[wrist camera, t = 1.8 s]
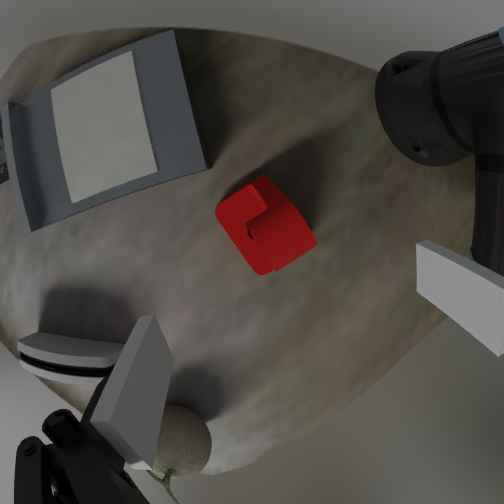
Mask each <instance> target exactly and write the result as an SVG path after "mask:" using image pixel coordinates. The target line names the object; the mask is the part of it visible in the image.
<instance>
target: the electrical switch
mask: <svg viewBox="0 0 504 504" xmlns="http://www.w3.org/2000/svg"><path fill="white" fill-rule="evenodd" d="M6 168H7V171H6ZM1 171H4V172H2V173H1ZM9 179H10V178H9V172H8V167H7V161H6V154H5V147H4V139H3V138H0V184H2V183H4V182H5V181H7V180H9Z"/></svg>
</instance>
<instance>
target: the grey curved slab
mask: <svg viewBox="0 0 504 504" xmlns="http://www.w3.org/2000/svg"><path fill="white" fill-rule="evenodd" d="M124 346H125V344H122V343H113V342H104V341H96V340H88V339H81V338H74V337H67V336H61V335H55V334H49V333H44V332H35V333H33V334H31V335H29V336H26V337H24V338H22V339H19V340H18V350H19V351H20V353H21V355H20V358H19V360H20V363H21V365H22V367H23V368H24V369H26V370H27V371H29V372H31V373H33V374H35V375H38V376H40V377H43V378H46V379H50V380H53V381H58V382H62V383H68V384H75V385H83V386H97V385H98V384H99V383H100V382H101V380H102V379H103V378H104V377H105V376H110V375H111V373H112V371H113V369H114V367H115V364H116V362H117V360H118V358H119V356H120V354H121V352H122V350H123V348H124Z"/></svg>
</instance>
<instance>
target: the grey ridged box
mask: <svg viewBox="0 0 504 504" xmlns="http://www.w3.org/2000/svg"><path fill="white" fill-rule="evenodd" d="M1 117H2V129H3V139H4V147H5V154H6V161H7V167H8V172H9V178H10V183H11V188H12V192H13V197H14V201H15V205H16V209H17V213H18V216H19V220H20V224H21V227H22V230H23V234H24V235H26V234H29V233H31V232H33V231H36V230H38V229H41V228H43V227H45V226H48V225H50V224H53V223H55V222H58V221H60V220H63V219H65V218H68V217H70V216H73V215H75V214H78V213H80V212H83V211H85V210H88V209H90V208H93V207H95V206H98V205H101V204H103V203H106V202H109V201H111V200H114V199H117V198H120V197H122V196H125V195H128V194H131V193H134V192H137V191H140V190H143V189H146V188H149V187H152V186H155V185H158V184H161V183H164V182H168V181H171V180H174V179H178V178H181V177H184V176H188V175H191V174H195V173H198V172H202V171H205V170H209V169H211V166H210V163H209V159H208V155H207V151H206V147H205V143H204V139H203V135H202V131H201V127H200V123H199V119H198V115H197V111H196V107H195V103H194V99H193V95H192V90H191V86H190V82H189V78H188V74H187V70H186V65H185V61H184V57H183V53H182V50H181V48H180V45H179V43H178V40H177V38H176V35H175V33H174V31H173V29H172V30H169V31H166V32H163V33H159V34H156V35H153V36H150V37H148V38H145V39H142V40H139V41H137V42H134V43H131V44H129V45H126V46H124V47H121V48H119V49H117V50H114V51H112V52H110V53H107V54H105V55H103V56H101V57H99V58H96V59H94V60H92V61H90V62H88V63H86V64H84V65H82V66H80V67H78V68H76V69H75V70H73V71H71V72H69V73H67V74H65V75H64V76H62V77H60V78H58V79H57V80H55V81H53V82H52V83H50V84H48V85H47V86H45V87H44V88H42V89H40V90H39V91H37V92H36V93H34V94H33V95H31V96H30V97H28V98H27V99H25V100H24V101H23V102H21V103H20V104H17V103H12V102H7V103H6V104H5V105H3V106H2V107H1Z"/></svg>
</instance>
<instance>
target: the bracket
mask: <svg viewBox="0 0 504 504" xmlns="http://www.w3.org/2000/svg"><path fill="white" fill-rule="evenodd" d="M215 214H216V217H217V219H218V221H219V222H220V224H221V225H222V226H223V228H224V229H225V231H226V232H227V234H228V235H229V236H230V238H231V239H232V241H233V242H234V244H235V245H236V246H237V248H238V249H239V251H240V252H241V253H242V255H243V256H244V258H245V259H246V261H247V262H248V263H249V265H250V266H251V268H252V269H253V270H254V271H255V272H256V273H257V274H259V275H264V274H267V273H269V272H270V271H272V270H274V269H275V271H278V270H280V269H281V268H283V267H285V266H286V265H288V264H289V263H291V262H292V261H294V260H295V259H297V258H298V257H300V256H301V255H303V254H305V253H306V252H308V251H309V250H311V249H312V248H314V247H315V246H317V242H316V240H315V237H314V235H313V234H312V232H311V230H310V228H309V227H308V225H307V223H306V222H305V220H304V219H303V217H302V216H301V214H300V213H299V211H298V210H297V209H296V207H295V206H294V205H293V203H292V202H291V201H290V200H289V199H288V198H287V197H286V196H285V195H284V194H283V193H282V192H281V191H280V190H279V189H278V188H277V187H276V186H275V185H274V184H273V183H272V182H271V180H270V179H269V178H268V177H267V176H266V175H265V174H262V175H261V176H259V177H257V178H256V179H254V180H253V181H251V182H250V183H248V184H247V185H245V186H244V187H242V188H241V189H239V190H238V191H236V192H234V193H233V194H231V195H230V196H228V197H227V198H226V199H224V200H223V201H221V202H220V203H219V204H218V205H217V207H216V210H215ZM248 230H249V232H250V234H251V235H250V234H249V233H248Z"/></svg>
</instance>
